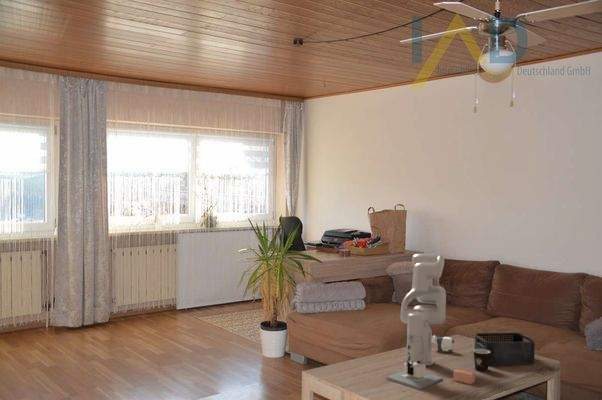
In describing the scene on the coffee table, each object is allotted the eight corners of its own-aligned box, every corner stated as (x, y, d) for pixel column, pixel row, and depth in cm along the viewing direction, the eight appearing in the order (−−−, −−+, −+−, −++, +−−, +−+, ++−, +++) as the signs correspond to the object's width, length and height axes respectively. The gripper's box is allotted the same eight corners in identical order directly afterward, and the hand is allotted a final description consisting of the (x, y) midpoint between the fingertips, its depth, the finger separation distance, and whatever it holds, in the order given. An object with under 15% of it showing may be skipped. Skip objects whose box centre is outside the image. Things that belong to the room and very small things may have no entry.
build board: (386, 379, 291) (386, 376, 291) (409, 370, 305) (409, 367, 304) (419, 389, 276) (419, 386, 276) (442, 379, 290) (442, 377, 290)
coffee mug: (469, 368, 308) (469, 349, 308) (482, 366, 311) (483, 348, 311) (484, 375, 297) (484, 356, 297) (497, 373, 301) (497, 354, 300)
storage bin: (518, 354, 334) (519, 331, 334) (537, 365, 315) (537, 340, 314) (472, 356, 330) (472, 333, 330) (487, 367, 311) (488, 342, 310)
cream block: (403, 373, 291) (403, 363, 291) (410, 370, 295) (410, 361, 295) (419, 377, 285) (419, 367, 285) (425, 374, 289) (425, 365, 289)
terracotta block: (453, 380, 289) (453, 371, 289) (457, 377, 294) (457, 367, 294) (471, 384, 284) (471, 374, 284) (474, 381, 289) (475, 371, 289)
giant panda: (454, 351, 338) (454, 335, 338) (453, 354, 333) (453, 337, 333) (429, 348, 344) (429, 332, 344) (427, 351, 339) (427, 334, 339)
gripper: (410, 342, 281) (410, 378, 281) (431, 336, 293) (430, 371, 293) (398, 339, 286) (398, 375, 287) (418, 333, 298) (418, 367, 299)
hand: (414, 372), depth 290 cm, fingers closed on cream block, 6 cm apart
